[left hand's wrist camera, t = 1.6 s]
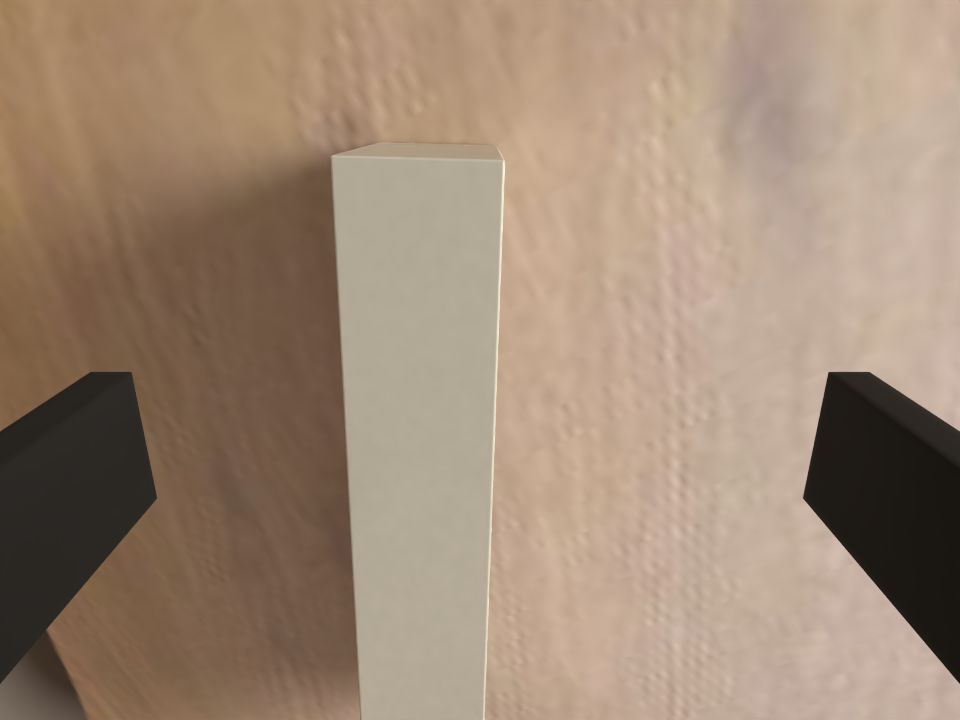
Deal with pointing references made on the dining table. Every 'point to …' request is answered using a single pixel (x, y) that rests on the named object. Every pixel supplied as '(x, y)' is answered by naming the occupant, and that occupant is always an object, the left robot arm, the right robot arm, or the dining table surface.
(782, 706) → the dining table surface
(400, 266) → the bar
